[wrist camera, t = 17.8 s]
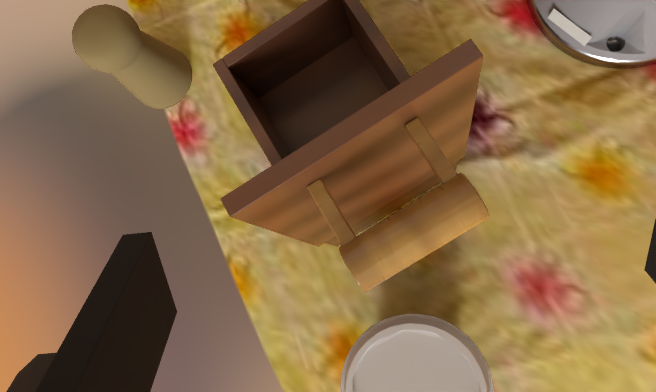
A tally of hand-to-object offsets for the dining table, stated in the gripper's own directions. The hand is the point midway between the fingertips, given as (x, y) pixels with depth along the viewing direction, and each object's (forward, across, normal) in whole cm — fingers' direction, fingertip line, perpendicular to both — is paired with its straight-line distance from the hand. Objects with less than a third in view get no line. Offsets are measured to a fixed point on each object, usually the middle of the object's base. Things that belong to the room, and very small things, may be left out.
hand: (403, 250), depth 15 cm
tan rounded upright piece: (+40, -18, -6) cm, 44 cm away
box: (+33, -1, -11) cm, 35 cm away
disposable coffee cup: (+21, +3, -26) cm, 34 cm away
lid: (+15, 0, -5) cm, 16 cm away
